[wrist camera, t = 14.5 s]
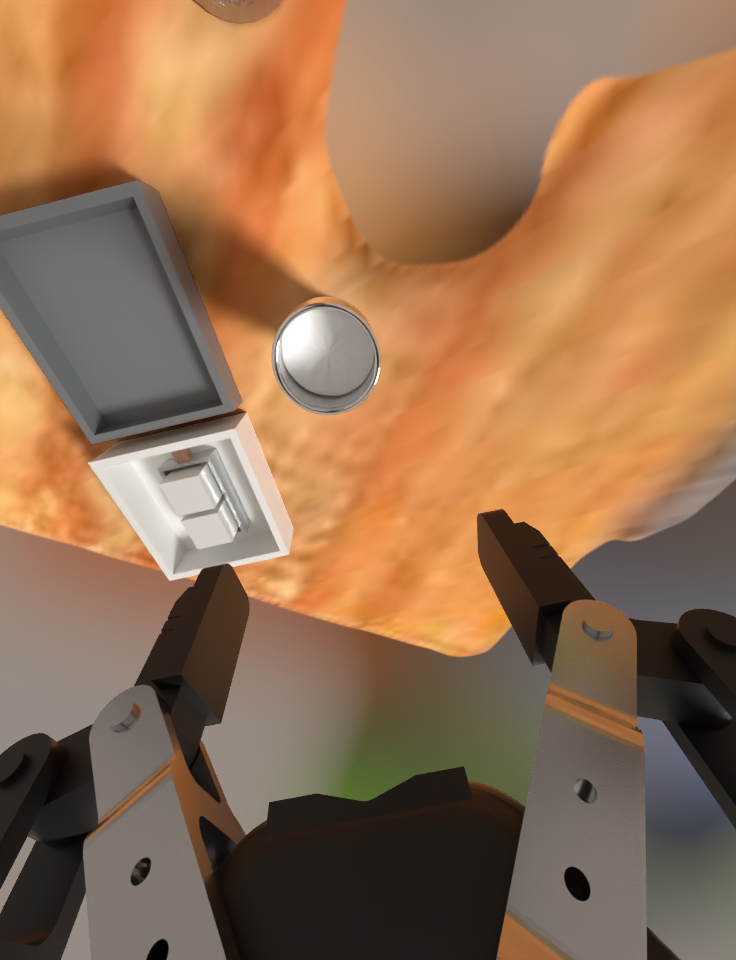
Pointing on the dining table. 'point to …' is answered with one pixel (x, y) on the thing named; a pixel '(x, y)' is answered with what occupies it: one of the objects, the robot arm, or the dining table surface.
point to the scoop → (221, 476)
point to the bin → (160, 528)
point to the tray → (113, 312)
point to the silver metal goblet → (326, 356)
